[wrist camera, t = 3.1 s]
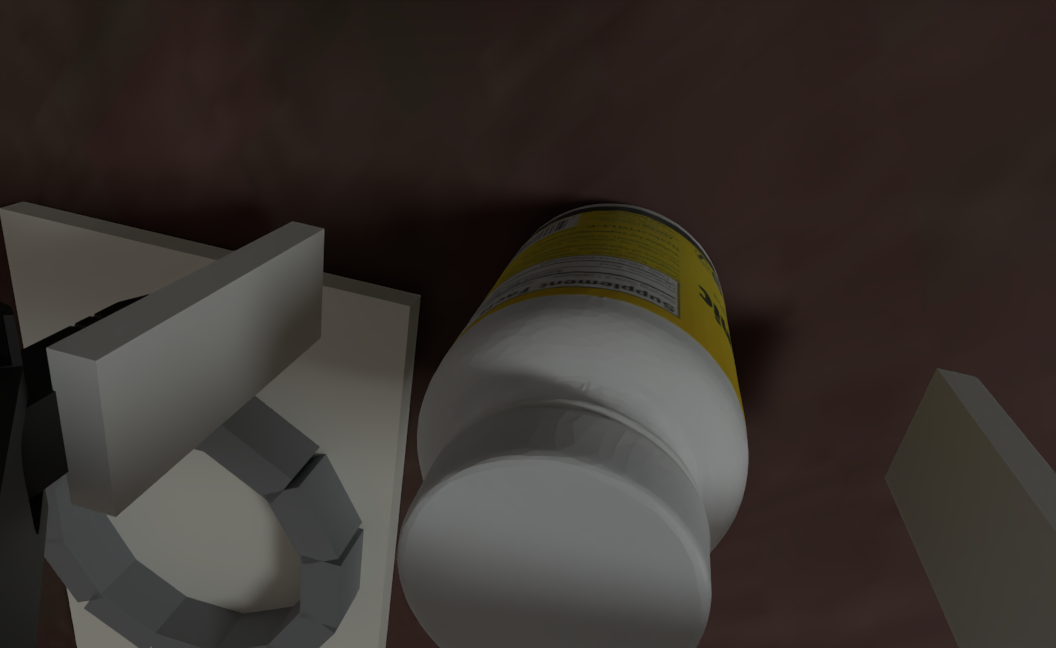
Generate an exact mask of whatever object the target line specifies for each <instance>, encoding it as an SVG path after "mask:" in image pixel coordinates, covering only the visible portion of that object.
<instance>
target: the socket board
mask: <svg viewBox="0 0 1056 648" xmlns="http://www.w3.org/2000/svg"><path fill="white" fill-rule="evenodd" d="M0 217H1V223H2V229H3V234H4V240H5V245H6V251H7V257H8V262H9V268H10V273H11V279H12V285H13V290H14V296H15V301H16V307H17V313H18V318H19V324H20V329H21V335H22V341H23V346H24V348H26V347H28V346H30V345H32V344H34V343H36V342H38V341H40V340H42V339H44V338H46V337H48V336H50V335H52V334H54V333H56V332H58V331H60V330H62V329H64V328H66V327H68V326H75V323H76V322H78V321H80V320H82V319H85V318H87V317H89V316H92V317H93V316H94V314H95V313H97V312H99V311H101V310H103V309H105V308H107V307H109V306H111V305H113V304H115V303H117V302H120V301H124V300H127V299H131V298H135V297H139V296H143V295H147V294H149V295H150V294H152V293H154V292H156V291H158V290H160V289H162V288H164V287H166V286H168V285H170V284H171V283H173V282H175V281H177V280H179V279H181V278H183V277H185V276H187V275H189V274H191V273H193V272H195V271H197V270H199V269H201V268H203V267H205V266H207V265H208V264H210V263H212V262H214V261H216V260H218V259H220V258H222V257H224V256H226V255H228V254H230V253H232V252H234V251H232V250H227V249H223V248H219V247H215V246H210V245H206V244H202V243H198V242H193V241H189V240H185V239H181V238H176V237H172V236H168V235H164V234H159V233H155V232H151V231H147V230H143V229H138V228H134V227H130V226H126V225H121V224H117V223H113V222H109V221H104V220H100V219H96V218H92V217H87V216H83V215H79V214H75V213H71V212H66V211H62V210H58V209H54V208H49V207H45V206H41V205H37V204H32V203H28V202H20V203H16V204H13V205H9V206H5V207H2V208H0ZM420 299H421V295H418V294H414V293H409V292H405V291H401V290H397V289H392V288H388V287H384V286H380V285H376V284H371V283H367V282H363V281H359V280H354V279H350V278H346V277H342V276H337V275H333V274H329V273H325V272H323V289H322V319H321V338H320V339H319V340H318V341H317V342H316V343H315V344H313V345H312V346H311V347H310V348H309V349H308V350H306V351H305V352H304V353H303V354H302V355H301V356H300V357H298V358H297V359H296V360H295V361H294V362H293V363H292V364H290V365H289V366H288V367H287V368H286V369H285V370H284V371H282V372H281V373H280V374H279V375H278V376H277V377H276V378H274V379H273V380H272V381H271V382H270V383H269V384H268V385H266V386H265V387H264V388H263V389H262V390H261V391H260V392H258V393H257V394H256V395H255V396H254V397H253V398H252V399H250V400H249V401H248V402H247V403H246V404H245V405H244V406H242V407H241V408H240V409H239V410H238V411H237V412H236V413H234V414H233V415H232V416H231V417H230V418H229V419H228V420H226V421H225V422H224V423H223V424H222V425H221V426H220V427H218V428H217V429H216V430H215V431H214V432H213V433H212V434H210V435H209V436H208V437H207V438H206V439H205V440H204V441H202V442H201V443H200V444H199V445H198V446H197V447H196V448H194V449H193V450H192V451H191V452H190V453H189V454H188V455H186V456H185V457H184V458H183V459H182V460H181V461H180V462H178V463H177V464H176V465H175V466H174V467H173V468H172V469H170V470H169V471H168V472H167V473H166V474H165V475H164V476H162V477H161V478H160V479H159V480H158V481H157V482H156V483H154V484H153V485H152V486H151V487H150V488H149V489H148V490H146V491H145V492H144V493H143V494H142V495H141V496H140V497H138V498H137V499H136V500H135V501H134V502H133V503H132V504H130V505H129V506H128V507H127V508H126V509H125V510H123V511H122V512H121V513H120V514H119V515H118V516H117V517H113V516H110V515H106V514H103V513H100V512H96V511H93V510H89V509H86V508H83V507H79V506H76V505H72V504H71V499H70V493H69V487H68V480H67V474H65V475H63V476H62V477H61V478H59V479H58V480H57V481H55V482H54V483H52V484H51V485H50V486H48V487H47V488H46V489H45V490H46V496H47V501H48V507H49V508H48V519H47V529H46V540H45V551H44V557H45V558H46V559H47V561H48V562H49V564H50V565H51V566H52V568H53V569H54V570H55V572H56V573H57V575H58V576H59V577H60V579H61V580H62V582H63V583H64V584H65V586H66V587H67V593H68V598H69V604H70V610H71V615H72V621H73V626H74V632H75V638H76V643H77V648H385V647H386V638H387V628H388V618H389V608H390V598H391V588H392V578H393V568H394V558H395V548H396V538H397V528H398V518H399V508H400V498H401V488H402V478H403V468H404V458H405V448H406V438H407V428H408V418H409V408H410V399H411V389H412V379H413V369H414V359H415V349H416V339H417V329H418V319H419V309H420Z"/></svg>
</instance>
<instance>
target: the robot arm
mask: <svg viewBox="0 0 1056 648" xmlns="http://www.w3.org/2000/svg"><path fill="white" fill-rule="evenodd" d="M323 258H324V228H320V227H315V226H311V225H307V224H302V223H298V222H293V221H292V222H290V223H288V224H286V225H284V226H282V227H281V228H279V229H277V230H275V231H273V232H271V233H269V234H267V235H265V236H263V237H261V238H259V239H257V240H255V241H253V242H251V243H249V244H247V245H245V246H244V247H242V248H240V249H238V250H236V251H234V252H232V253H230V254H228V255H226V256H224V257H222V258H220V259H218V260H216V261H214V262H212V263H210V264H208V265H207V266H205V267H203V268H201V269H199V270H197V271H195V272H193V273H191V274H189V275H187V276H185V277H183V278H181V279H179V280H177V281H175V282H173V283H171V284H170V285H168V286H166V287H164V288H162V289H160V290H158V291H156V292H154V293H152V294H150V295H149V294H147V295H143V296H139V297H135V298H131V299H127V300H124V301H120V302H117V303H115V304H113V305H111V306H109V307H107V308H105V309H103V310H101V311H99V312H97V313H95V314H94V316H93V317H92V316H89V317H87V318H85V319H82V320H80V321H78V322H76V323H75V326H68V327H66V328H64V329H62V330H60V331H58V332H56V333H54V334H52V335H50V336H48V337H46V338H44V339H42V340H40V341H38V342H36V343H34V344H32V345H30V346H28V347H26V348H24V349H22V350H20V346H19V341H18V335H17V330H16V324H15V318H14V314H13V311H12V308H11V307H10V306H8V305H6V304H4V303H2V302H1V301H0V648H36V639H37V628H38V617H39V606H40V595H41V584H42V573H43V562H44V551H45V540H46V529H47V519H48V508H49V507H48V501H47V496H46V490H45V489H46V488H47V487H48V486H50V485H51V484H52V483H54V482H55V481H57V480H58V479H59V478H61V477H62V476H63V475H65V474H67V480H68V487H69V493H70V499H71V504H72V505H76V506H79V507H83V508H86V509H89V510H93V511H96V512H100V513H103V514H106V515H110V516H113V517H117V516H118V515H119V514H120V513H121V512H122V511H123V510H125V509H126V508H127V507H128V506H129V505H130V504H132V503H133V502H134V501H135V500H136V499H137V498H138V497H140V496H141V495H142V494H143V493H144V492H145V491H146V490H148V489H149V488H150V487H151V486H152V485H153V484H154V483H156V482H157V481H158V480H159V479H160V478H161V477H162V476H164V475H165V474H166V473H167V472H168V471H169V470H170V469H172V468H173V467H174V466H175V465H176V464H177V463H178V462H180V461H181V460H182V459H183V458H184V457H185V456H186V455H188V454H189V453H190V452H191V451H192V450H193V449H194V448H196V447H197V446H198V445H199V444H200V443H201V442H202V441H204V440H205V439H206V438H207V437H208V436H209V435H210V434H212V433H213V432H214V431H215V430H216V429H217V428H218V427H220V426H221V425H222V424H223V423H224V422H225V421H226V420H228V419H229V418H230V417H231V416H232V415H233V414H234V413H236V412H237V411H238V410H239V409H240V408H241V407H242V406H244V405H245V404H246V403H247V402H248V401H249V400H250V399H252V398H253V397H254V396H255V395H256V394H257V393H258V392H260V391H261V390H262V389H263V388H264V387H265V386H266V385H268V384H269V383H270V382H271V381H272V380H273V379H274V378H276V377H277V376H278V375H279V374H280V373H281V372H282V371H284V370H285V369H286V368H287V367H288V366H289V365H290V364H292V363H293V362H294V361H295V360H296V359H297V358H298V357H300V356H301V355H302V354H303V353H304V352H305V351H306V350H308V349H309V348H310V347H311V346H312V345H313V344H315V343H316V342H317V341H318V340H319V339H320V338H321V319H322V289H323ZM885 480H886V482H887V485H888V487H889V489H890V492H891V494H892V496H893V498H894V501H895V503H896V505H897V508H898V510H899V512H900V514H901V517H902V519H903V521H904V524H905V526H906V528H907V530H908V533H909V535H910V537H911V540H912V542H913V544H914V546H915V549H916V551H917V553H918V556H919V558H920V560H921V562H922V565H923V567H924V569H925V572H926V574H927V576H928V578H929V581H930V583H931V585H932V588H933V590H934V592H935V594H936V597H937V599H938V601H939V604H940V606H941V608H942V610H943V613H944V615H945V617H946V620H947V622H948V624H949V626H950V629H951V631H952V633H953V636H954V638H955V640H956V642H957V645H958V647H959V648H1056V473H1055V472H1054V471H1053V469H1052V468H1051V467H1050V466H1049V465H1048V463H1047V462H1046V461H1045V460H1044V458H1043V457H1042V456H1041V455H1040V454H1039V452H1038V451H1037V450H1036V449H1035V447H1034V446H1033V445H1032V444H1031V443H1030V441H1029V440H1028V439H1027V438H1026V436H1025V435H1024V434H1023V433H1022V432H1021V430H1020V429H1019V428H1018V427H1017V425H1016V424H1015V423H1014V422H1013V421H1012V419H1011V418H1010V417H1009V416H1008V414H1007V413H1006V412H1005V411H1004V410H1003V408H1002V407H1001V406H1000V405H999V404H998V402H997V401H996V400H995V399H994V397H993V396H992V395H991V394H990V393H989V391H988V390H987V389H986V388H985V386H984V385H983V384H982V383H981V382H980V380H979V379H978V378H977V377H974V376H969V375H965V374H961V373H956V372H952V371H947V370H943V369H939V368H937V369H936V371H935V373H934V375H933V377H932V379H931V382H930V384H929V386H928V388H927V390H926V392H925V394H924V396H923V398H922V400H921V402H920V405H919V407H918V409H917V411H916V413H915V415H914V417H913V419H912V421H911V423H910V425H909V428H908V430H907V432H906V434H905V436H904V438H903V440H902V442H901V444H900V446H899V448H898V451H897V453H896V455H895V457H894V459H893V461H892V463H891V465H890V467H889V469H888V471H887V474H886V476H885Z"/></svg>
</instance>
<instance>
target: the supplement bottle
mask: <svg viewBox="0 0 1056 648" xmlns="http://www.w3.org/2000/svg"><path fill="white" fill-rule="evenodd" d="M417 449H418V457H419V463H420V469H421V473H422V477H423V481H424V482H423V483H422V485H421V487H420V489H419V491H418V493H417V494H416V496H415V498H414V500H413V502H412V504H411V505H410V507H409V509H408V512H407V514H406V516H405V519H404V521H403V525H402V528H401V531H400V537H399V544H398V555H397V558H398V571H399V578H400V581H401V585H402V588H403V591H404V594H405V597H406V600H407V602H408V604H409V606H410V608H411V610H412V611H413V613H414V615H415V616H416V618H417V620H418V621H419V623H420V624H421V626H422V628H423V629H424V630H425V631H426V632H427V634H428V635H429V636H430V637H431V638H432V639H433V641H434V642H435V643H436V644H437V645H438V646H439V647H440V648H696V647H697V645H698V643H699V641H700V639H701V637H702V635H703V633H704V630H705V627H706V624H707V621H708V617H709V612H710V606H711V572H710V552H711V551H712V550H713V549H714V548H715V547H716V545H717V544H718V543H719V542H720V541H721V539H722V538H723V537H724V535H725V534H726V532H727V531H728V529H729V528H730V526H731V524H732V522H733V520H734V518H735V516H736V514H737V512H738V509H739V507H740V504H741V502H742V498H743V494H744V490H745V486H746V479H747V473H748V443H747V431H746V424H745V416H744V411H743V406H742V400H741V395H740V390H739V385H738V379H737V374H736V367H735V362H734V353H733V350H732V345H731V340H730V334H729V328H728V322H727V316H726V309H725V302H724V297H723V293H722V289H721V286H720V282H719V279H718V276H717V273H716V271H715V268H714V266H713V264H712V262H711V261H710V259H709V257H708V255H707V254H706V252H705V251H704V250H703V248H702V247H701V245H700V244H699V243H698V242H697V241H696V240H695V239H694V238H693V237H692V236H691V235H690V234H689V233H688V232H687V231H686V230H684V229H683V228H682V227H681V226H679V225H678V224H676V223H675V222H673V221H672V220H670V219H668V218H666V217H664V216H662V215H661V214H658V213H656V212H653V211H651V210H648V209H645V208H641V207H638V206H633V205H627V204H610V203H606V204H594V205H588V206H584V207H580V208H576V209H573V210H570V211H568V212H565V213H563V214H561V215H559V216H557V217H555V218H554V219H552V220H550V221H549V222H547V223H546V224H544V225H543V226H542V227H540V228H539V229H538V230H537V231H536V232H535V233H534V234H533V235H532V236H531V237H530V238H529V239H528V240H527V241H526V242H525V243H524V245H523V246H522V247H521V248H520V250H519V251H518V252H517V254H516V255H515V256H514V258H513V259H512V260H511V261H510V263H509V265H508V266H507V267H506V269H505V270H504V272H503V273H502V275H501V276H500V278H499V279H498V280H497V282H496V284H495V285H494V287H493V288H492V289H491V291H490V292H489V294H488V295H487V297H486V298H485V300H484V301H483V303H482V304H481V305H480V307H479V308H478V310H477V311H476V313H475V314H474V315H473V317H472V318H471V320H470V321H469V323H468V324H467V326H466V327H465V328H464V330H463V331H462V333H461V334H460V335H459V337H458V338H457V340H456V341H455V343H454V344H453V345H452V347H451V348H450V350H449V351H448V352H447V354H446V355H445V357H444V358H443V360H442V362H441V363H440V365H439V367H438V369H437V370H436V372H435V374H434V376H433V377H432V379H431V381H430V384H429V386H428V389H427V391H426V394H425V396H424V399H423V403H422V406H421V410H420V414H419V421H418V431H417Z"/></svg>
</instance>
